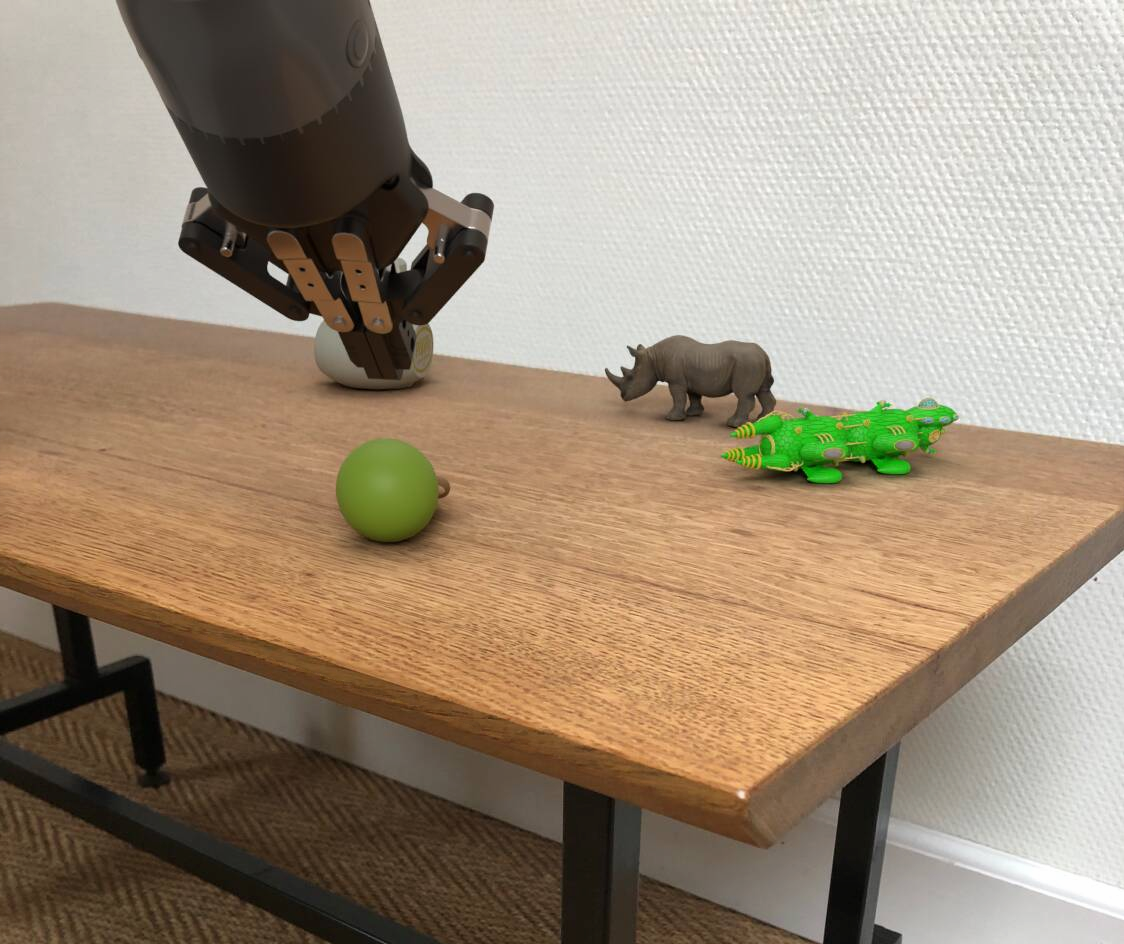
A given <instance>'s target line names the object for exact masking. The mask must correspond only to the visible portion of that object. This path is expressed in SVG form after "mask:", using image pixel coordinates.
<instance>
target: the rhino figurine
mask: <svg viewBox="0 0 1124 944" xmlns="http://www.w3.org/2000/svg"><path fill="white" fill-rule="evenodd" d="M626 348H627V350H628V352H629V354H630V356H631V357H633V358H634V365H633V367H632V368H630V369H629V368H627V367H625V366H623V365H621V366H620V367H619V369H620V371H621V373H622V376H618V375H615V374H613V373H612V372H611V371H610V370H609V368H608V367H605V368H604V373H605V376H606V378H607V379H608V381H610V382H611V383H612V384H613V385H614V386H615V387H616V388H617V389H618V390H619V391H620V397H621V399H622V400H623V402H625V403H627V402H631V401H633V400H637V399H638V398H640V397H644V396H645V395H647V394H649V393H650V392H651V391H652V390H653V389H654V388H655V387H656V385H657V384H658V382H660V383H667V385H668V386H667V387H668V390H669V393H670V396H671V399H672V403H673V406H672V408H671V409H670V411H668V412H667V414H666V416H665V418H666V420H668V421H681V420H684V419H686V418H687V416H691V417H693V416H698V415H701V414H703V413H704V411H705V407H704V404H703V402H702V399H703V397H705V398H709V399H716V398H722V397H726V396H729V395H732V394H734V396H735V397H736V399H737V405H736V409H735V412H734V414H733V415H731V416H730V417H729V418H728V419H727V421H726V425H727V426H729V427H734V428H738V427H741V426H742V425H745V424H746V423H747V422H750V423H751V420H750V416H749V415H750V413H751V412H753V411H754V409H756V399H757V400H758V403H759V404H760V406H761V409H762V410H761V412H760V413H758V415H757V417H756V420H755V422H756V421H758V420H759V419H760V418H762V417H765V416H766V415H767V414H770V413H771V412H773V411H775V407H776V405H777V399H776V397H775V394H774V393H773V392H772V390H771V388H772V386H773V385H774V383H775V378H774V376H773V374H772V371H773V370H772V364H771V359H770V356H769V355H768V353H767V352H766V351H765V349H763V348H762V347H761V346H760V345H759V344H758V343H757V342H745V341H739V340H733V339H730V340H729V339H728V340H725V341H724V340H723V341H721V342H716V343H703V342H700V341H699V340H696V339H694V338H692V337H691V336H687V335H683V334H682V335H681V334H677V335H676V334H675V335H671V336H668V337H666V338H664V339H662V340H660V341H658V342H656V343H654V344H653V345H650V346H648V347H645V346H644V345H643V344H642V343H638V345H637V346H636V348H633V347H632V346H629V345H626ZM688 401H689V406H688V407H687V403H688ZM686 407H687V408H686ZM772 414H775V412H774V413H772Z"/></svg>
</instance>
